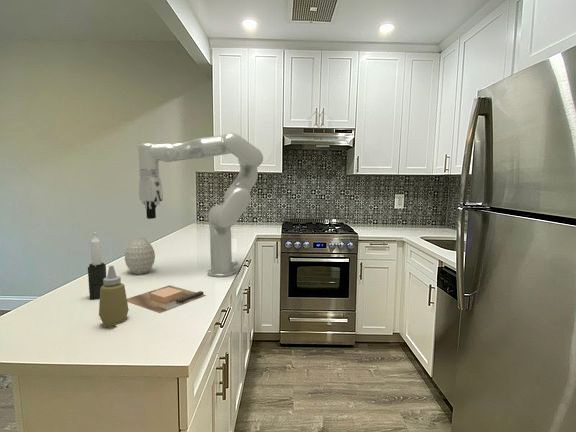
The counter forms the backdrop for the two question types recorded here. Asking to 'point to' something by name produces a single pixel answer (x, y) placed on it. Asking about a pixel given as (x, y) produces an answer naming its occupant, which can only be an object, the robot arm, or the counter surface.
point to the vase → (139, 256)
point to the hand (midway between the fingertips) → (151, 218)
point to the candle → (96, 270)
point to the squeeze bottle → (112, 300)
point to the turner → (180, 301)
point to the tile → (166, 295)
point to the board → (153, 305)
